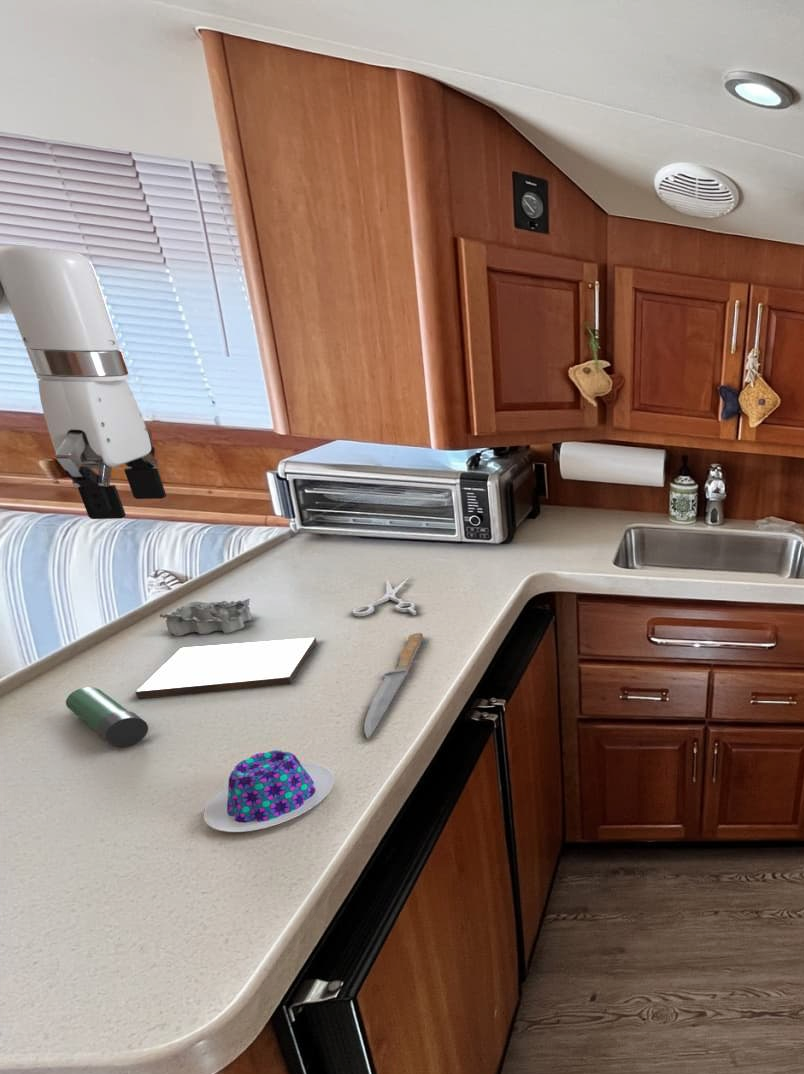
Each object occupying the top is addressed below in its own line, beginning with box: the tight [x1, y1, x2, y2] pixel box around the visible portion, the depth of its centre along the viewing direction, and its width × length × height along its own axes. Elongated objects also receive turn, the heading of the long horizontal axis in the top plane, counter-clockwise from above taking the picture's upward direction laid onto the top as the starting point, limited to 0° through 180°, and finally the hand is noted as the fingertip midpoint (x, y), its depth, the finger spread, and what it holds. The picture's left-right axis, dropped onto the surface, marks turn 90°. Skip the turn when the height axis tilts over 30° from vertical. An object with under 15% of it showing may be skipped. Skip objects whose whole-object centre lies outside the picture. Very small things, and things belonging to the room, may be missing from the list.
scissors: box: [352, 577, 417, 617], centre depth 128 cm, size 11×1×20 cm
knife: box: [363, 632, 424, 740], centre depth 99 cm, size 31×1×3 cm
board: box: [135, 637, 318, 700], centre depth 99 cm, size 18×14×1 cm
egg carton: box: [159, 598, 253, 637], centre depth 111 cm, size 11×8×4 cm
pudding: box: [203, 749, 335, 833], centre depth 74 cm, size 12×12×5 cm
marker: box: [65, 686, 149, 748], centre depth 84 cm, size 15×4×4 cm, turn 61°
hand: (130, 507), depth 81 cm, fingers open, 9 cm apart
